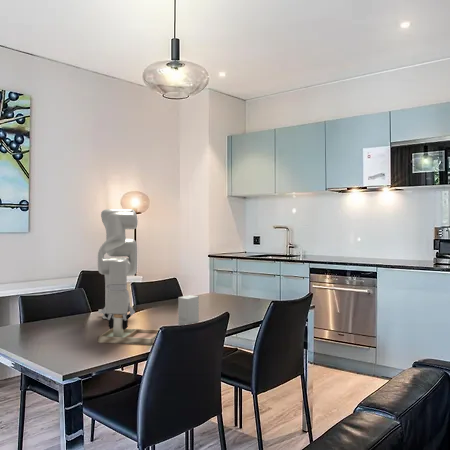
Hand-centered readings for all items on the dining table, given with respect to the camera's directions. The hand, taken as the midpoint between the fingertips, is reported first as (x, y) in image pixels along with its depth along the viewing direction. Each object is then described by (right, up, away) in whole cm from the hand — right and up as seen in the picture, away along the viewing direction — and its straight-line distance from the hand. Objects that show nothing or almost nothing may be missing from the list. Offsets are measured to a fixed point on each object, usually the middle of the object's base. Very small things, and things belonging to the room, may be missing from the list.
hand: (118, 328), depth 203 cm
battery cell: (0, -3, 0) cm, 3 cm away
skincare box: (+30, -5, +18) cm, 35 cm away
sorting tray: (+6, -4, -1) cm, 7 cm away
